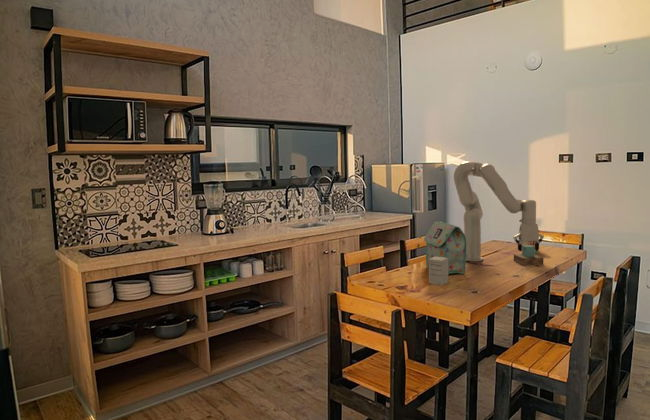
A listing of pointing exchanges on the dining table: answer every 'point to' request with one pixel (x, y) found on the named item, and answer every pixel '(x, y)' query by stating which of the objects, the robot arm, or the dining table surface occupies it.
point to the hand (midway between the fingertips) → (528, 250)
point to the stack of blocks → (530, 244)
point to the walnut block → (528, 260)
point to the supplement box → (438, 270)
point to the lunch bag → (447, 246)
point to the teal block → (528, 250)
